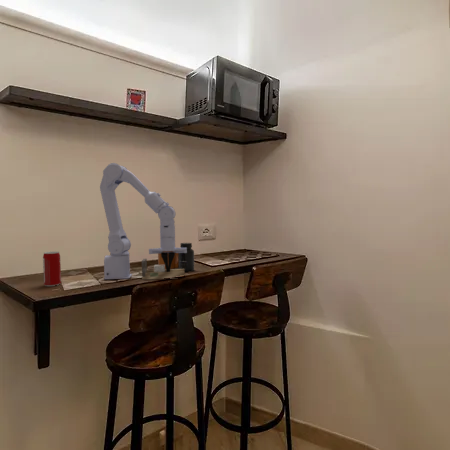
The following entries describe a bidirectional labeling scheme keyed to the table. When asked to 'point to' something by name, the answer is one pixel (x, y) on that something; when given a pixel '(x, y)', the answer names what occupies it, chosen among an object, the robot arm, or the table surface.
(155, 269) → the carriage
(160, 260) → the mug
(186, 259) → the supplement bottle
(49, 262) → the soda can
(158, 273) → the gauge bed
